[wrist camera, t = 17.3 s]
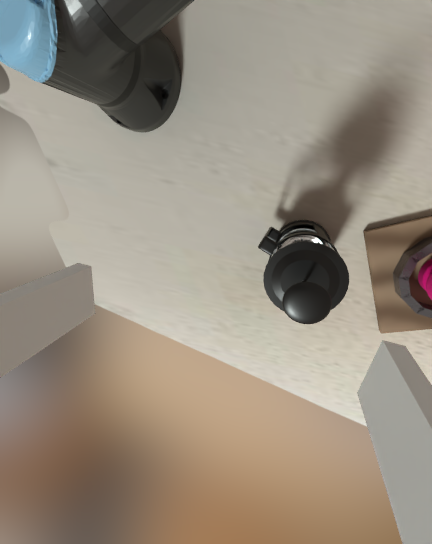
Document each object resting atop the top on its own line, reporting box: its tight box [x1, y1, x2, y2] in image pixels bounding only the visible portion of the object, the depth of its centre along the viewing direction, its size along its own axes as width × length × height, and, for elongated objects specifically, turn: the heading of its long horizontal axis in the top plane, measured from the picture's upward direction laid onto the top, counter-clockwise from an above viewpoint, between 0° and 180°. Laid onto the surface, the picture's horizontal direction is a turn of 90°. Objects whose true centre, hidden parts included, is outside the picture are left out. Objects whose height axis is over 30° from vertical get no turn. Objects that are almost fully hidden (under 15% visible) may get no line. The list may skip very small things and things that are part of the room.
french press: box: [258, 220, 349, 324], centre depth 32 cm, size 12×9×23 cm
